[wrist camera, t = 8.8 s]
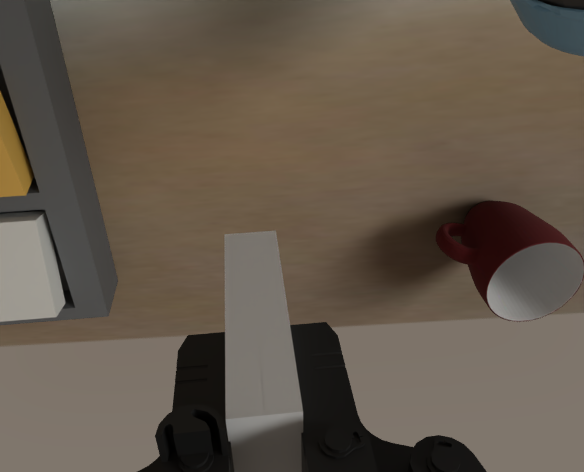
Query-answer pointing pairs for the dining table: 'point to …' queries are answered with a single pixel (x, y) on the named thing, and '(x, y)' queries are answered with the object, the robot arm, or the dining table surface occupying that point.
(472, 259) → the mug
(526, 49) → the dining table surface
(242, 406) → the robot arm
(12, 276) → the rocker grey
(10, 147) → the rocker amber
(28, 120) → the power strip
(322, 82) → the dining table surface
